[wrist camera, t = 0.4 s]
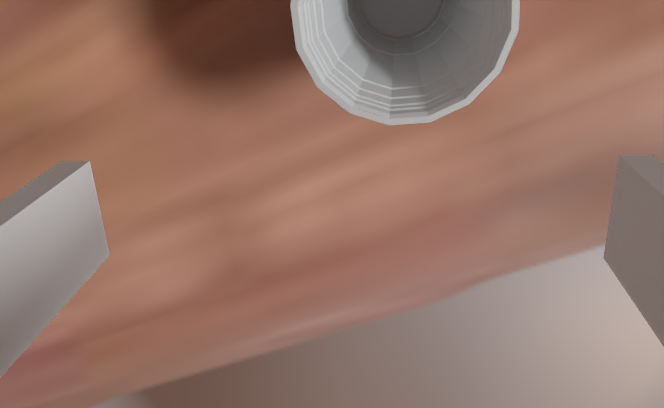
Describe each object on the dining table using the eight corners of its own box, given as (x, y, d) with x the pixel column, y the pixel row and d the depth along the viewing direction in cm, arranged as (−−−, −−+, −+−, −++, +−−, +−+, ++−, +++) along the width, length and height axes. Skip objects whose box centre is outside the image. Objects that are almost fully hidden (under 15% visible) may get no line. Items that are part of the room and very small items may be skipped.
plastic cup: (310, 71, 42) (281, 117, 31) (324, -104, 37) (296, -124, 26) (468, 89, 41) (497, 142, 30) (500, -87, 37) (548, -99, 26)
